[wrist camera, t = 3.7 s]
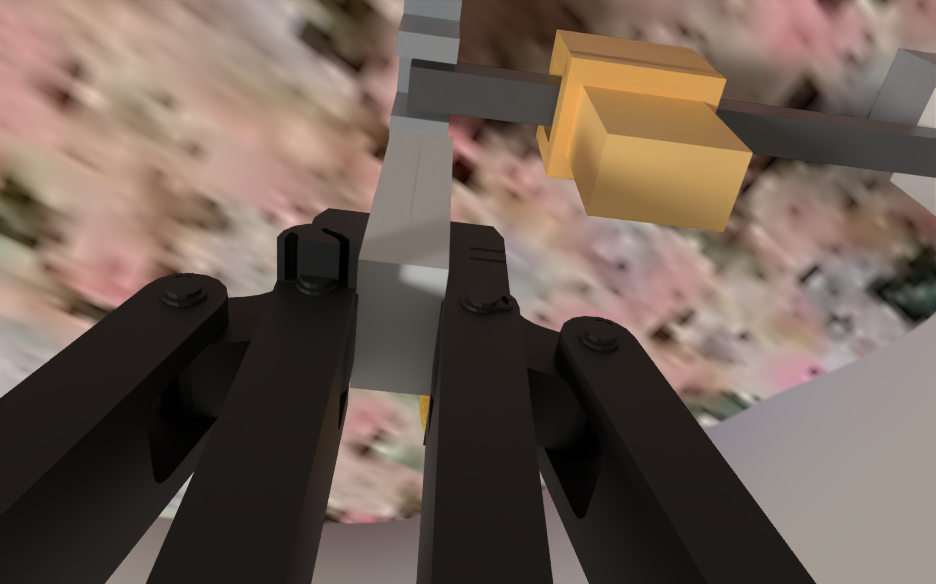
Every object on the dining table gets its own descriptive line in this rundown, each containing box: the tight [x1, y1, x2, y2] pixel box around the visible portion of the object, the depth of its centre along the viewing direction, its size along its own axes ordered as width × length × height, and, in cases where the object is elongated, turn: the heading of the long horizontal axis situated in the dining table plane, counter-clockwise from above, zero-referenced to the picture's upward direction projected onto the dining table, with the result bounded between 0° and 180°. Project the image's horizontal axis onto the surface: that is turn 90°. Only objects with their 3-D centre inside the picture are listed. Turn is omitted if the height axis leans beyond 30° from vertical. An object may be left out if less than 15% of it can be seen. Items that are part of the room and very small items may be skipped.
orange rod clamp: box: [536, 29, 753, 232], centre depth 23 cm, size 5×4×8 cm
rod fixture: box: [389, 0, 936, 216], centre depth 28 cm, size 25×8×12 cm, turn 82°
